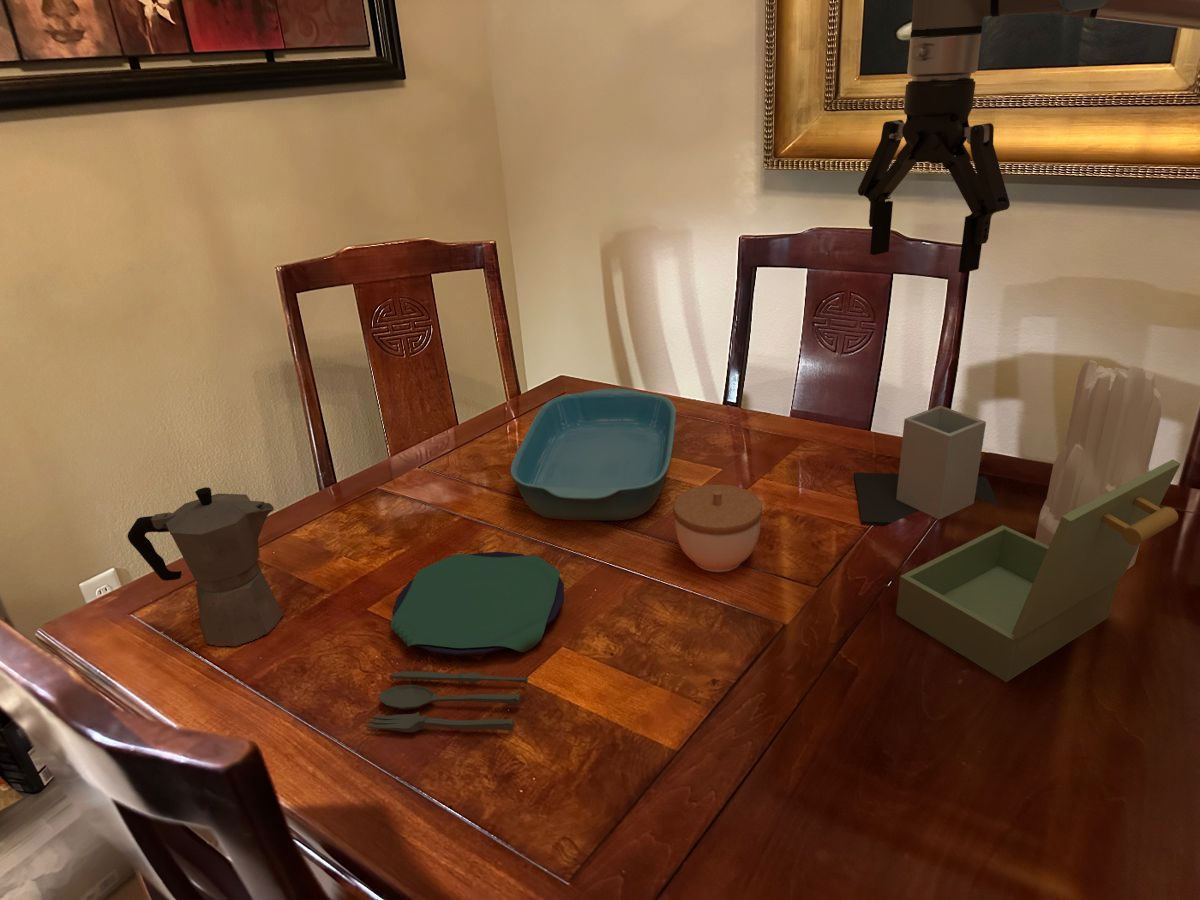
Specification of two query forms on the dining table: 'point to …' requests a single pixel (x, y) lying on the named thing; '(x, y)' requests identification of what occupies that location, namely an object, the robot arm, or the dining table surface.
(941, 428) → the container
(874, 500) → the mat
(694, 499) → the trinket box
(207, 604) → the coffeepot
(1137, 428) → the decorative vase
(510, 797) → the dining table surface
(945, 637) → the green open box
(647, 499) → the casserole dish
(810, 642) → the dining table surface
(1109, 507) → the lid
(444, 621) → the cutlery set
